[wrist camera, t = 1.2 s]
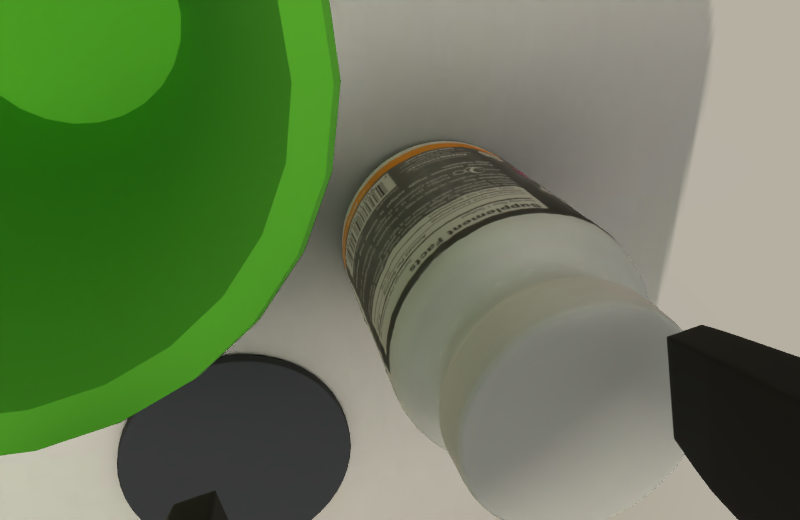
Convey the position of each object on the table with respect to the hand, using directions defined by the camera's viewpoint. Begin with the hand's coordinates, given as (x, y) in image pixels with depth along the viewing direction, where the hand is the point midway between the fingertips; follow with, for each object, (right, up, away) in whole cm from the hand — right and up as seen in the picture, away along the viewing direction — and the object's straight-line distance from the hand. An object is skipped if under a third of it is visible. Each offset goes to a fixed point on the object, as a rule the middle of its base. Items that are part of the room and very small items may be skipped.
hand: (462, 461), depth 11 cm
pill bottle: (0, +4, +11) cm, 11 cm away
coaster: (-6, -3, +12) cm, 14 cm away
